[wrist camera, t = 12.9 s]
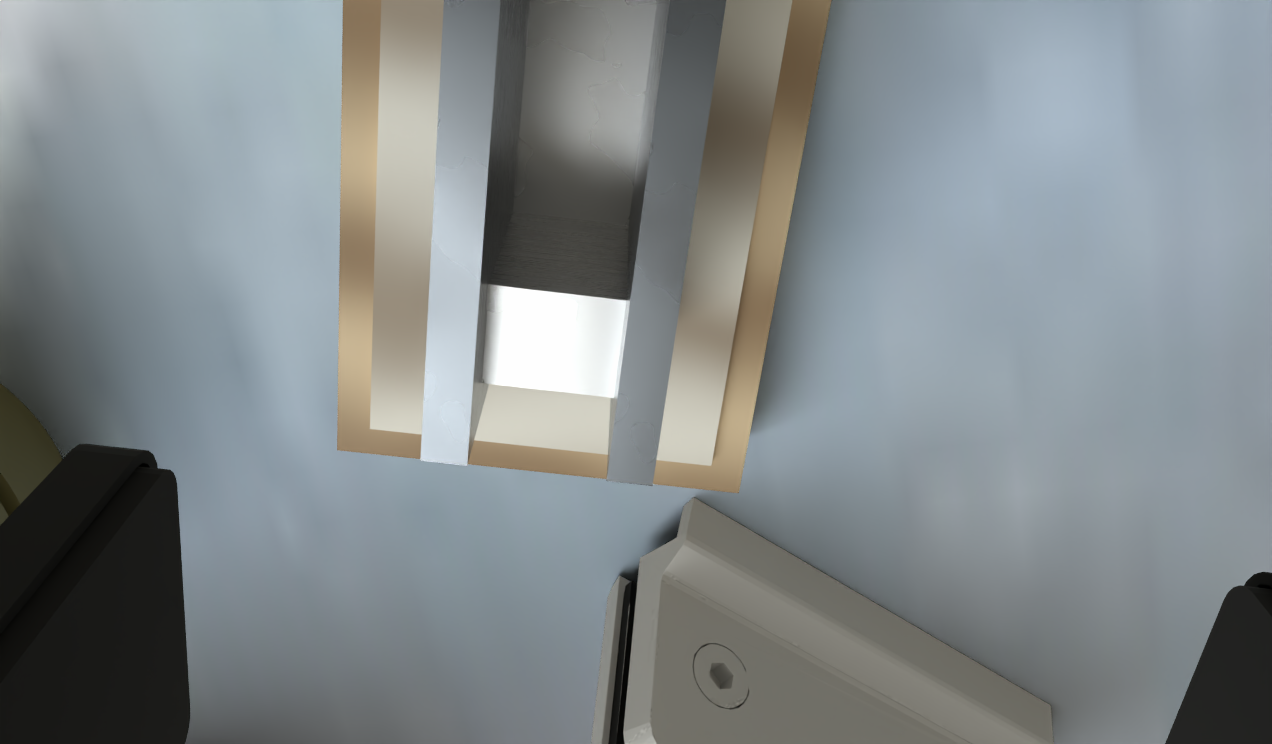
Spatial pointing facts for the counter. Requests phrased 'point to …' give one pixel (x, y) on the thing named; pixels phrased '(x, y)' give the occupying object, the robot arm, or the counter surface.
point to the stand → (714, 276)
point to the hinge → (783, 657)
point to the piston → (21, 453)
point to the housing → (564, 209)
